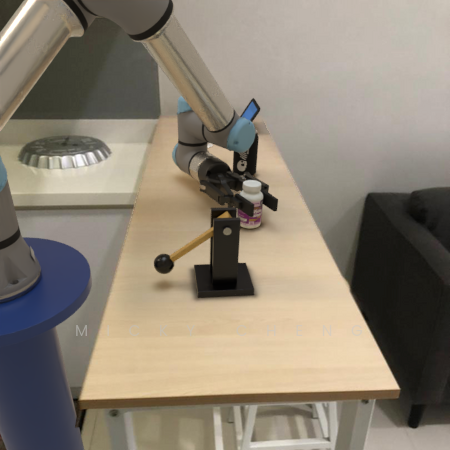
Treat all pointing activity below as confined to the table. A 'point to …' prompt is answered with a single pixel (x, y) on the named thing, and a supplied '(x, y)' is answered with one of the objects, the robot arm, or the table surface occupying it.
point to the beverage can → (246, 159)
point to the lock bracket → (223, 260)
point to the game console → (251, 110)
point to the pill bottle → (256, 197)
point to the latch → (182, 250)
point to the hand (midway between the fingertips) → (264, 208)
